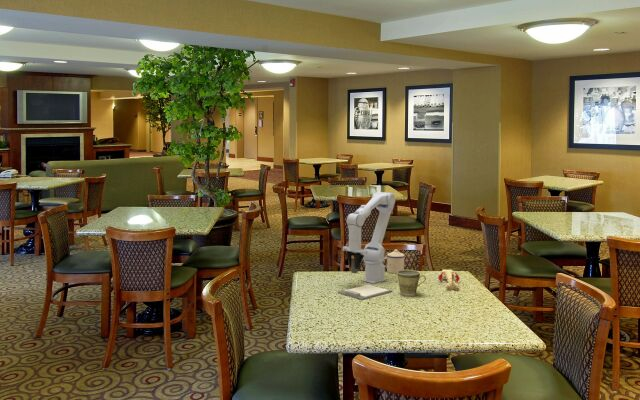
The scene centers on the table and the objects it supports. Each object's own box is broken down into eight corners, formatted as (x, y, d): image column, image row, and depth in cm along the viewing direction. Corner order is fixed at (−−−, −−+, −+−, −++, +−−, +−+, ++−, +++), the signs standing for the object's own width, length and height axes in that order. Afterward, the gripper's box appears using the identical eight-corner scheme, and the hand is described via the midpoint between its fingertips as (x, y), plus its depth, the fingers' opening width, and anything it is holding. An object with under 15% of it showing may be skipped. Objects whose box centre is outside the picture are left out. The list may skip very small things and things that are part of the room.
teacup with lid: (404, 270, 314) (405, 248, 312) (404, 274, 305) (404, 251, 303) (381, 269, 316) (381, 247, 314) (380, 273, 307) (380, 250, 305)
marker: (354, 271, 281) (354, 254, 280) (359, 272, 278) (359, 255, 277) (349, 272, 279) (350, 255, 278) (354, 273, 276) (354, 256, 275)
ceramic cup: (393, 295, 266) (394, 273, 265) (401, 290, 275) (401, 268, 273) (421, 299, 260) (422, 276, 259) (428, 293, 269) (429, 272, 267)
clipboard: (368, 285, 282) (368, 282, 282) (392, 291, 271) (392, 288, 271) (337, 293, 269) (337, 289, 269) (361, 300, 258) (362, 296, 258)
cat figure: (463, 294, 274) (456, 276, 298) (464, 275, 272) (457, 259, 297) (441, 293, 275) (436, 275, 299) (442, 275, 273) (436, 259, 298)
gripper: (337, 238, 279) (337, 266, 281) (360, 242, 269) (359, 272, 270) (348, 236, 284) (348, 264, 286) (370, 240, 273) (370, 269, 275)
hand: (354, 268), depth 278 cm, fingers closed on marker, 3 cm apart
